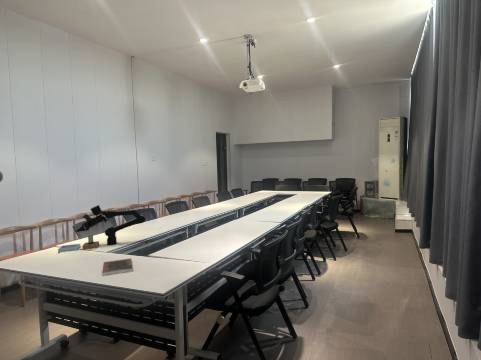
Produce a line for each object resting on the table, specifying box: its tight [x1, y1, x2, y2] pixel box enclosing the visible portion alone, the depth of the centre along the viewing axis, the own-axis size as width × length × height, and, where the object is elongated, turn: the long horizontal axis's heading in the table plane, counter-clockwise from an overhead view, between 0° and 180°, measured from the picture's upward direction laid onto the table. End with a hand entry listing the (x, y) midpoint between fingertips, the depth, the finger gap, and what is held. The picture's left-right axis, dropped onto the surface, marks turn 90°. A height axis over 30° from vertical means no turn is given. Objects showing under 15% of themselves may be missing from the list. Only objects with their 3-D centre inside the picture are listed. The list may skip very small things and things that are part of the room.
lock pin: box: [87, 233, 94, 244], centre depth 243 cm, size 4×4×10 cm
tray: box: [57, 243, 82, 254], centre depth 239 cm, size 13×11×3 cm
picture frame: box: [101, 258, 134, 277], centre depth 192 cm, size 16×2×22 cm
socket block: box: [82, 240, 100, 251], centre depth 243 cm, size 10×10×4 cm
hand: (77, 230), depth 241 cm, fingers open, 9 cm apart
